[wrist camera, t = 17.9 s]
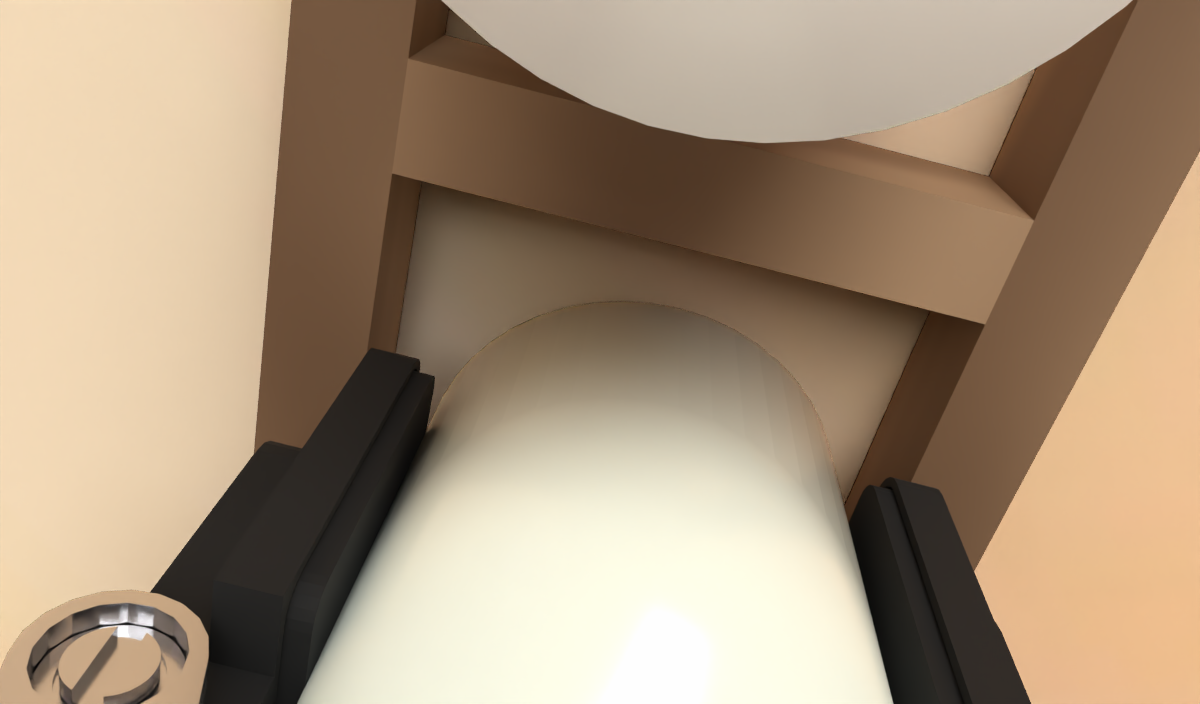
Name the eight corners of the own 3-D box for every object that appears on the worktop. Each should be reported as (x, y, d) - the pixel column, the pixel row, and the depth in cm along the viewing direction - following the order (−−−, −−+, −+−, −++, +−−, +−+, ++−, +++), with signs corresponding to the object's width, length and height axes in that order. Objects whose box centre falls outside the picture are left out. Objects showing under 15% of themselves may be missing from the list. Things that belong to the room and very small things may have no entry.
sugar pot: (896, 362, 11) (1170, 998, 5) (759, 679, 13) (823, 1388, 7) (460, 253, 11) (153, 762, 4) (400, 592, 13) (137, 1237, 7)
